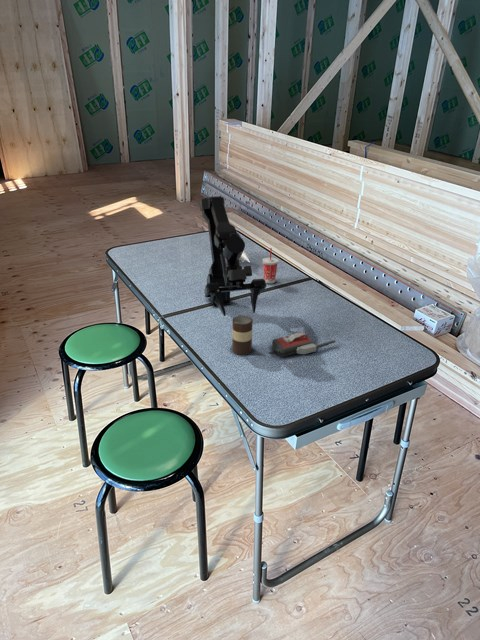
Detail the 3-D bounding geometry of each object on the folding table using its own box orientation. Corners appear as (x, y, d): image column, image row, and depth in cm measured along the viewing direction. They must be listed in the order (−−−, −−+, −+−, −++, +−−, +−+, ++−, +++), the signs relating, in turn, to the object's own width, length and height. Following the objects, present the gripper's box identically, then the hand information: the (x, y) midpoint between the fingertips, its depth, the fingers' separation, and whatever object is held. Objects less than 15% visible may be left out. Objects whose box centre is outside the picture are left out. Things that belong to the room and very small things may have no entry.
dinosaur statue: (234, 252, 225) (234, 229, 220) (257, 271, 206) (258, 246, 201) (220, 254, 222) (220, 231, 217) (242, 273, 203) (243, 248, 198)
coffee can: (236, 356, 147) (237, 325, 142) (229, 347, 152) (229, 316, 147) (255, 352, 149) (256, 322, 144) (246, 343, 154) (247, 313, 149)
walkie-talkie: (282, 362, 145) (336, 346, 153) (283, 349, 143) (338, 334, 151) (267, 348, 152) (320, 334, 160) (268, 336, 150) (321, 322, 158)
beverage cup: (277, 278, 199) (279, 245, 192) (276, 284, 194) (278, 251, 187) (262, 277, 200) (263, 245, 193) (261, 283, 194) (262, 250, 188)
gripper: (205, 258, 144) (212, 308, 139) (266, 254, 148) (275, 302, 143) (201, 273, 154) (208, 320, 150) (258, 268, 158) (266, 314, 154)
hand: (239, 314), depth 149 cm, fingers open, 9 cm apart
